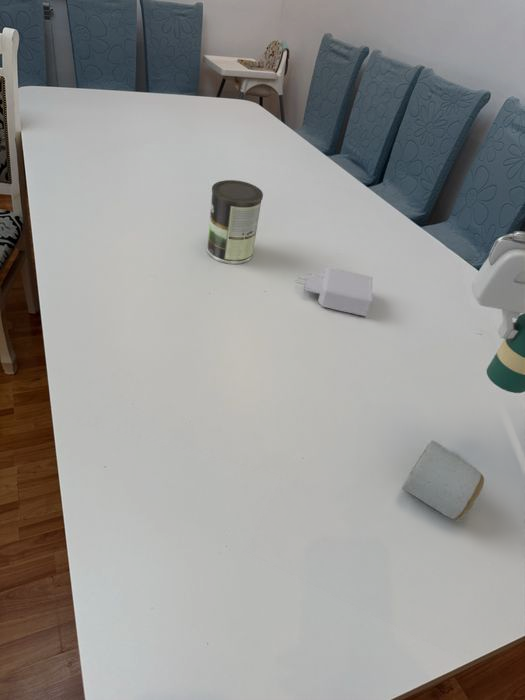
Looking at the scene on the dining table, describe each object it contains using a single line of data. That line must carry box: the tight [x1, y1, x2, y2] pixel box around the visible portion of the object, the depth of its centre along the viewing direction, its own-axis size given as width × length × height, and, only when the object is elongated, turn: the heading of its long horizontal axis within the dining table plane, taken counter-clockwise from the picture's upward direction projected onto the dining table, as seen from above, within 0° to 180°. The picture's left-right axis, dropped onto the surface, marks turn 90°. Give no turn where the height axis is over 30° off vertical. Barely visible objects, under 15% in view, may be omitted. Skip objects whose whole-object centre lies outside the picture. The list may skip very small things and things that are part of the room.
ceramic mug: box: [401, 440, 485, 520], centre depth 66 cm, size 11×8×8 cm
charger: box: [294, 267, 373, 317], centre depth 99 cm, size 5×9×15 cm
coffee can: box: [206, 179, 264, 265], centre depth 104 cm, size 10×10×14 cm
